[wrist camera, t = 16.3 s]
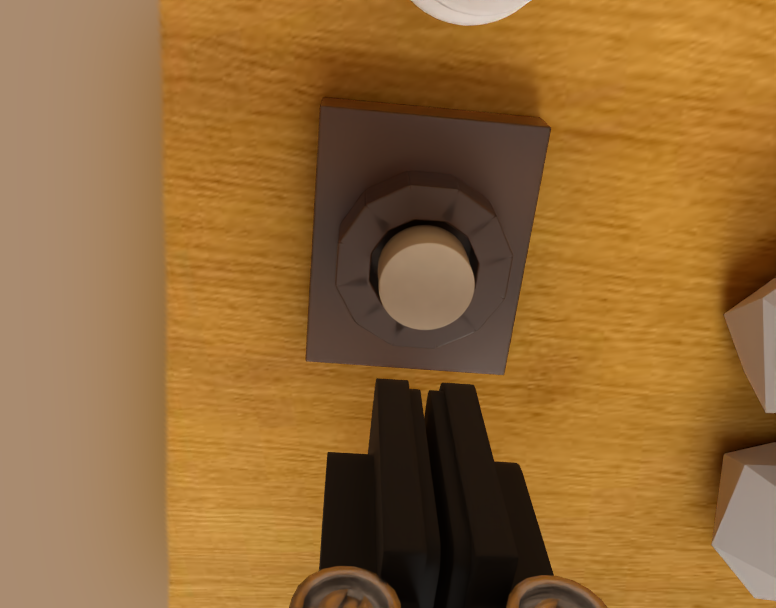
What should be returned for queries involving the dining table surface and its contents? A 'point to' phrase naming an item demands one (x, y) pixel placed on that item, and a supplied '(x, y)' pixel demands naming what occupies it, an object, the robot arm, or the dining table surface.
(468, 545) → the robot arm
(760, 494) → the rock
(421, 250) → the button
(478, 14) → the supplement bottle
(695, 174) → the dining table surface
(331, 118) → the lamp base
